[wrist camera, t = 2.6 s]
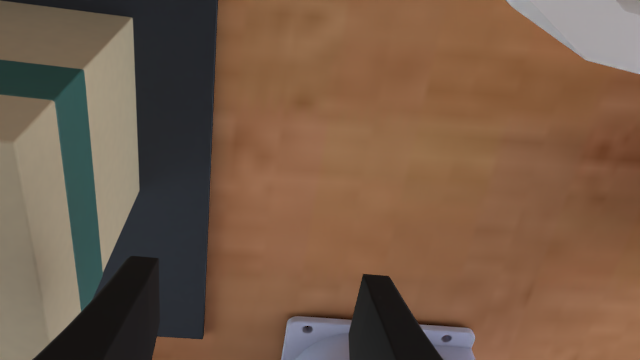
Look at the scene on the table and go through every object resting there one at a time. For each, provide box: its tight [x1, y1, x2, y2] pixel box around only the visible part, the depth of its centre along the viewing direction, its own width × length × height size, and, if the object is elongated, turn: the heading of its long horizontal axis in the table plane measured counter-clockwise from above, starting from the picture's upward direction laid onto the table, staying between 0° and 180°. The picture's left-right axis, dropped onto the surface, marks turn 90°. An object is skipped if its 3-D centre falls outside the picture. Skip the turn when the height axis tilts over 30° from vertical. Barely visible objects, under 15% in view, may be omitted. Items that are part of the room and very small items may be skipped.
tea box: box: [0, 1, 140, 360], centre depth 16 cm, size 5×7×9 cm, turn 172°
